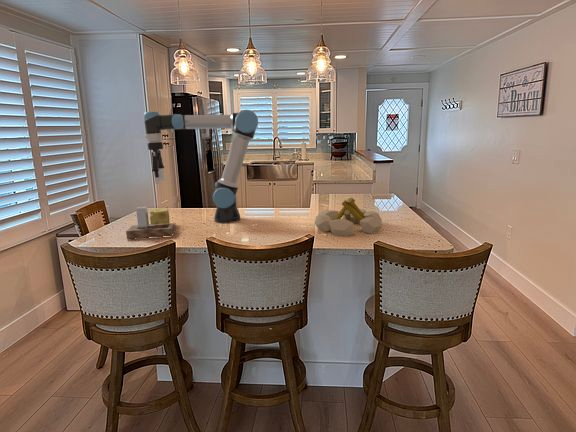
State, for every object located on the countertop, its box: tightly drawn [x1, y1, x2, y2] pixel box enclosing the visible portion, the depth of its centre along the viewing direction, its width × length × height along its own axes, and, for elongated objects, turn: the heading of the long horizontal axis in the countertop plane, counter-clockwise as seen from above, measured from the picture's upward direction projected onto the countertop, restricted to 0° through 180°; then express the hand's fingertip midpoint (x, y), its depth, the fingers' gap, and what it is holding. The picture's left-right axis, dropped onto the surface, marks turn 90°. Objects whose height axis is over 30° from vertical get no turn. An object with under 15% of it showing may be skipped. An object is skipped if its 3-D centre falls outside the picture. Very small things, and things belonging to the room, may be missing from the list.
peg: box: [135, 205, 150, 229], centre depth 209 cm, size 6×6×14 cm
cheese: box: [149, 207, 170, 224], centre depth 227 cm, size 10×11×10 cm
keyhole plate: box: [125, 222, 176, 240], centre depth 210 cm, size 22×12×4 cm, turn 96°
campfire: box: [314, 197, 383, 237], centre depth 211 cm, size 35×34×17 cm
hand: (160, 181), depth 218 cm, fingers open, 13 cm apart
